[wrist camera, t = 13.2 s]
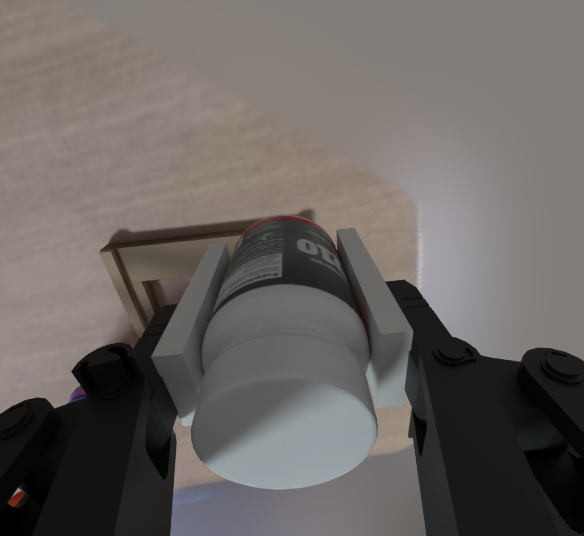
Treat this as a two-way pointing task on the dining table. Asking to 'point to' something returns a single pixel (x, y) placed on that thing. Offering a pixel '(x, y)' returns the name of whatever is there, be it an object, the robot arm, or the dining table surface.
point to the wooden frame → (155, 268)
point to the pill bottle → (284, 363)
